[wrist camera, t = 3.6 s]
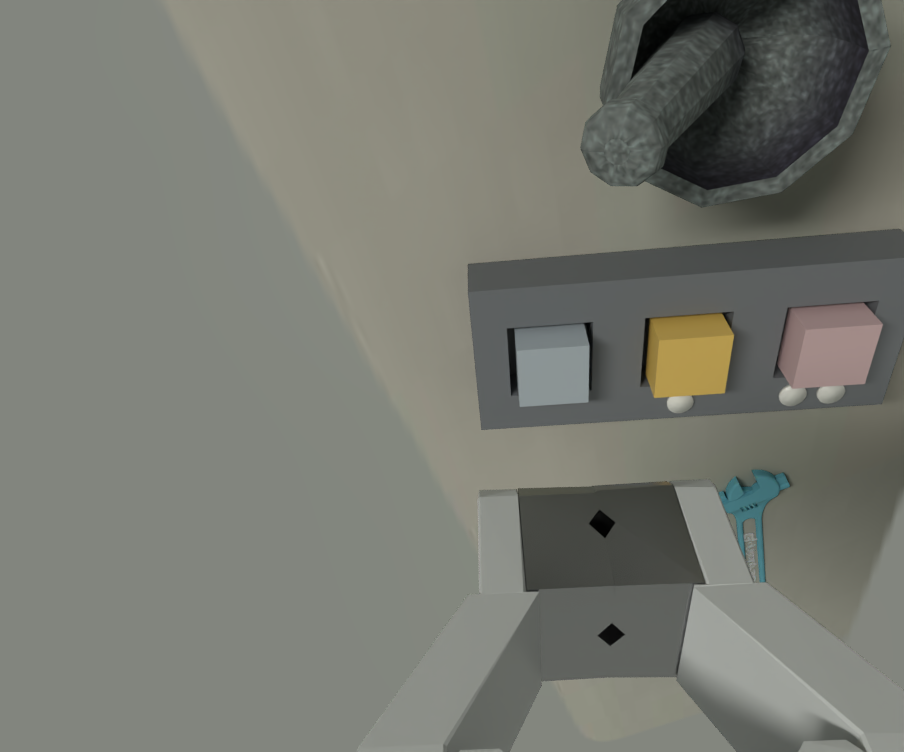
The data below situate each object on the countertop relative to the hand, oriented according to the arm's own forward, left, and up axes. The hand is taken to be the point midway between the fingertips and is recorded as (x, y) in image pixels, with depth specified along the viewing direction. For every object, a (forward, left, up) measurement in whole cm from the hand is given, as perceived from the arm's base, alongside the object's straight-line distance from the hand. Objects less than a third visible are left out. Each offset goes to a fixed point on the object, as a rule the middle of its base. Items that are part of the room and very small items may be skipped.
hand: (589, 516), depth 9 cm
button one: (+8, +15, -25) cm, 30 cm away
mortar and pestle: (-4, +7, -27) cm, 28 cm away
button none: (+12, +9, -25) cm, 29 cm away
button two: (+5, +21, -25) cm, 33 cm away
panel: (+8, +15, -27) cm, 32 cm away
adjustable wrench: (+21, +30, -28) cm, 46 cm away
